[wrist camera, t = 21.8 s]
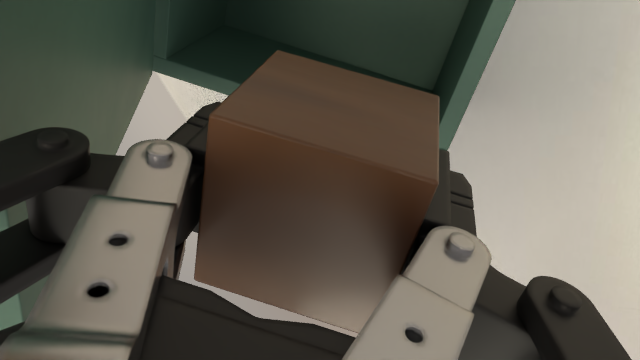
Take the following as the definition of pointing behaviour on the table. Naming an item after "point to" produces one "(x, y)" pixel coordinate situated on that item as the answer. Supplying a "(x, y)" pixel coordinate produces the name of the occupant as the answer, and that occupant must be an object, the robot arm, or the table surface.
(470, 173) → the table surface
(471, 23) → the box
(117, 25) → the lid
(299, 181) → the block
